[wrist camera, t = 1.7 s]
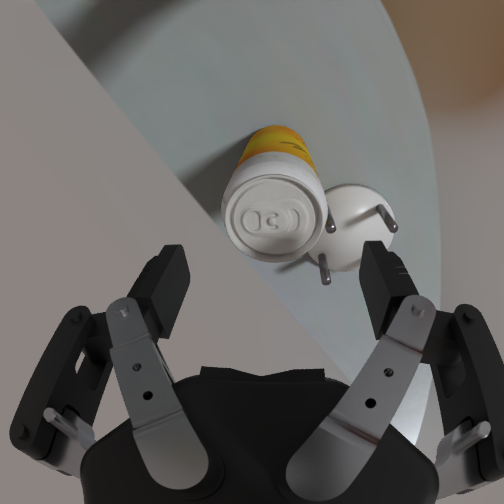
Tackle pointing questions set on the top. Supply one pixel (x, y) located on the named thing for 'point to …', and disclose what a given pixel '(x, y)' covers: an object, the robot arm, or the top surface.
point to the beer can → (274, 198)
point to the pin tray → (351, 228)
